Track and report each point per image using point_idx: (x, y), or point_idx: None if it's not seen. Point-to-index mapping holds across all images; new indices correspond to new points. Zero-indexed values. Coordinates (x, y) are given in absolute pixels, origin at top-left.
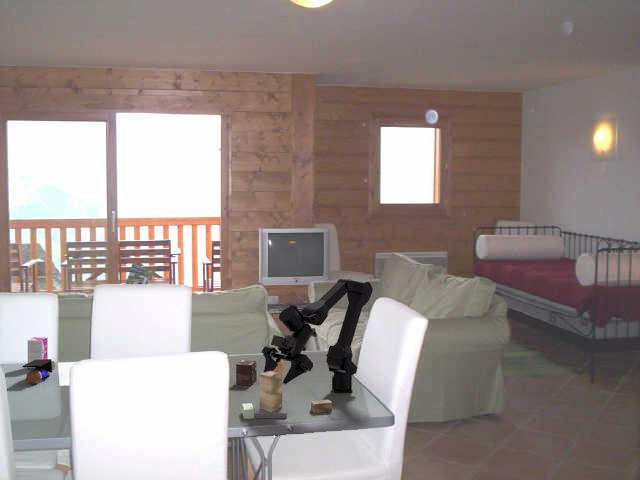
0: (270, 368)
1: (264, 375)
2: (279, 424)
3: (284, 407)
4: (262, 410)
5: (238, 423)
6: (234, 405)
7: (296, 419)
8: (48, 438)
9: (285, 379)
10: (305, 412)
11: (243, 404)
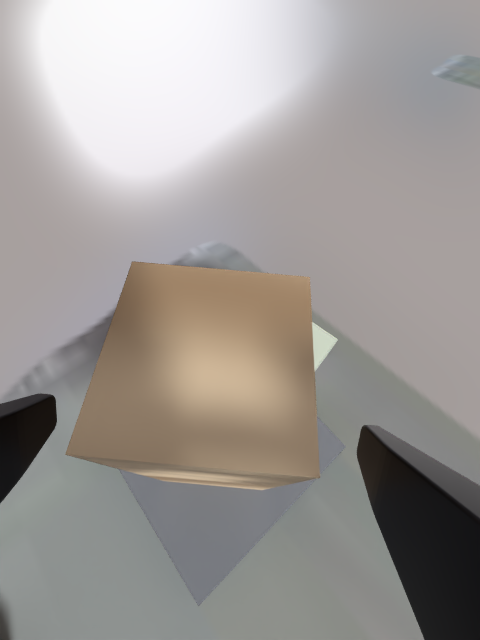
0: (457, 611)
1: (228, 274)
2: (91, 342)
3: (158, 500)
4: None
5: (237, 268)
6: (439, 410)
7: None
8: (444, 67)
9: (2, 404)
10: (39, 600)
11: (325, 336)
